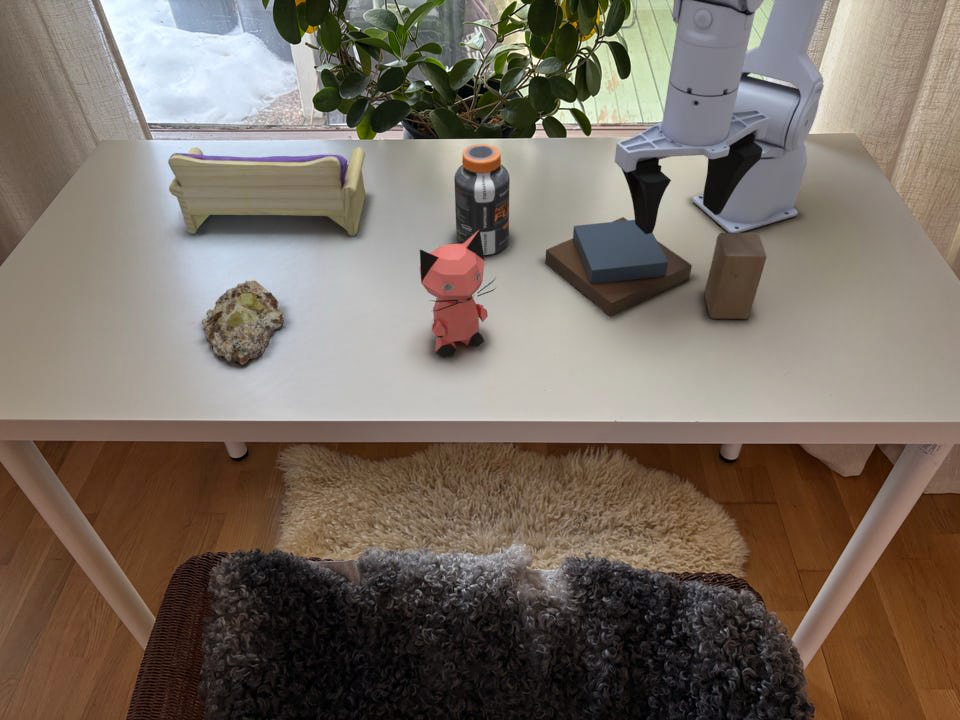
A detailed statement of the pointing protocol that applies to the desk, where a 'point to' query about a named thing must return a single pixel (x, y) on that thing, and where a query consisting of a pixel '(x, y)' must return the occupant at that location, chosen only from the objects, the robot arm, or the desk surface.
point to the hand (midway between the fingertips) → (678, 218)
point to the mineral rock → (242, 322)
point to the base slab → (618, 292)
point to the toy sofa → (269, 186)
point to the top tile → (618, 252)
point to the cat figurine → (455, 292)
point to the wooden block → (734, 275)
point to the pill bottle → (482, 198)
